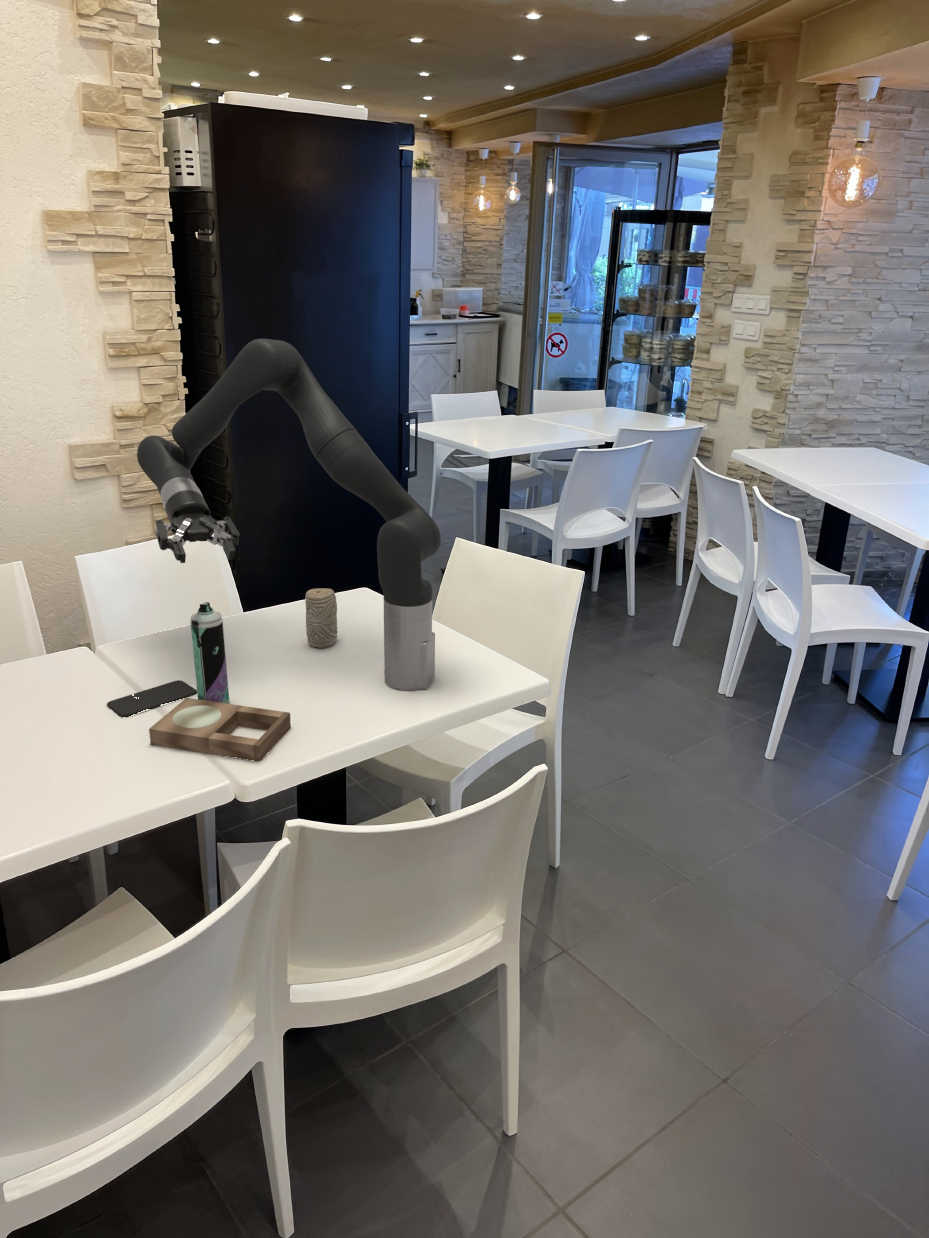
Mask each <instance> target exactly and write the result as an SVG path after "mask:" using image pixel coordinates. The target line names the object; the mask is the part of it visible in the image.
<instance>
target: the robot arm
mask: <svg viewBox="0 0 929 1238" xmlns="http://www.w3.org/2000/svg"><path fill="white" fill-rule="evenodd" d="M261 391H275V392H277V394H279V395H280V396H281V397H282V398H283V399H284V400H285V401H286V402H287V404H288V405H289V406H290V407H291V409H292V410H293V411H294V412H295V414H296V415H297V417H298V419H299V420H300V423H301V425H302V429H303V432H304V437H305V439H306V442H307V446H308V448H309V450H310V451H311V453H312V455H313V457H314V458H315V460H317V462H318V463H319V465H321V467H322V468H323V469H324V471H325V472H326V473H327V474H328V476H329V477H330V478H331V479H332V480H333V481H334V482H335V483H337V484H338V485H340V487H342V488H344V489H345V490H347V491H348V492H350V493H352V494H353V495H355V496H357V497H358V498H360V499H361V500H363V501H365V502H366V503H369V504H370V506H372V507H373V508H374V509H375V510H376V511H377V512H378V513H379V514H380V515H381V517H382V518H384V520H385V523H384V524H383V525H381V527H380V529H379V531H378V534H377V540H376V552H377V553H376V554H377V570H378V582H379V584H380V587H381V590H382V593H383V644H384V645H383V650H384V652H383V655H384V656H383V657H384V668H383V669H384V670H383V671H384V683H385V684H386V685H387V686H388V687H390V688H392V689H395V690H399V691H401V690H402V691H415V690H427V689H428V688H429V686H430V684H431V683H432V682H433V680H434V678H435V677H436V675H435V674H436V673H435V671H436V668H435V667H436V632H434V631H433V586H432V584H431V583H430V581H429V580H427V579H424V578H422V562H423V561H424V560H425V561H426V559H427V560H428V559H429V558H430V557H432V556H433V555H435V554H436V553H437V552H438V550H439V549H440V547H441V541H442V539H441V536H442V535H441V531H440V529H439V527H438V525H437V523H436V522H435V520H434V519H433V518H432V516H431V515H430V514H429V512H427V511H426V510H425V509H424V508H423V507H422V506H421V505H420V504H419V503H418V502H417V500H415V499H414V498H413V496H411V495H410V494H409V492H408V491H406V490H405V489H404V487H403V486H402V485H401V484H400V483H399V481H397V480H396V478H395V477H394V476H393V474H392V473H391V472H390V471H389V469H388V468H387V467H386V466H385V465H384V464H383V462H382V461H381V460H380V459H379V457H378V456H377V455H376V454H375V452H374V451H373V450H372V449H371V446H369V445H368V443H367V441H365V439H364V438H363V437H362V436H361V434H360V433H359V432H358V430H357V429H356V427H355V426H353V424H352V423H351V422H350V421H349V420H348V419H347V417H346V416H345V415H344V414H343V413H342V411H341V410H340V409H339V408H338V406H337V405H336V404H335V403H334V401H333V400H332V398H330V397H329V396H328V394H327V393H326V392H325V391H324V389H323V387H321V385H320V383H319V382H318V380H317V378H316V377H315V376H314V374H313V372H312V371H311V370H310V368H309V366H308V364H307V363H306V361H305V360H304V359H303V357H302V355H301V354H300V353H299V352H298V350H297V349H296V347H294V346H293V345H292V344H290V343H289V342H286V341H284V340H278V339H269V338H256V339H253V340H252V341H249V342H248V343H247V344H246V345H245V346H244V347H243V348H242V349H241V350H240V351H239V353H237V355H236V356H235V358H234V360H232V362H231V363H230V365H229V366H228V367H227V369H226V370H225V372H223V374H222V375H221V377H220V378H219V379H218V381H217V382H216V383H215V384H214V385H213V386H212V387H211V389H210V390H209V391H208V392H207V393H206V394H205V395H204V396H203V397H202V399H200V400H199V401H198V402H197V403H195V405H194V406H193V407H192V408H190V409H189V411H187V412H186V413H185V414H184V415H183V416H182V417H180V419H179V420H177V421H176V422H175V423H174V424H173V426H172V429H171V436H172V439H173V440H174V442H175V443H176V444H175V443H174V442H171V441H169V440H167V439H166V438H164V437H161V436H160V435H155V434H154V435H148V436H146V437H144V438H143V439H142V440H141V441H140V442H139V444H138V447H137V449H136V451H137V452H136V458H137V462H138V465H139V466H140V468H141V470H142V471H143V473H145V475H146V477H148V478H149V480H150V481H151V482H152V483H153V484H154V485H155V486H156V488H157V490H158V493H159V496H160V498H161V503H162V506H163V507H162V508H163V510H164V512H165V514H166V517H167V519H168V521H169V523H167V522H166V523H164V521H163V520H162V519H156V521H155V531H154V533H155V535H156V536H155V537H156V539H157V542H158V546H159V549H160V550H161V551H166V550H168V549H169V550H170V551H171V552H172V554H173V556H174V558H175V560H176V561H178V562H179V563H180V564H185V563H186V557H187V555H186V551H185V549H184V545H185V544H186V543H187V542H189V543H195V542H209V543H210V544H212V545H213V546H215V545H218V546H220V547H221V548H222V550H223V552H224V554H225V556H226V559H227V561H232V560H233V558H234V557H235V553H236V547H237V546H238V545H239V538H240V531H239V530H238V529H237V527H236V524H234V522H233V520H232V519H231V517H229V516H224V517H223V520H216V519H215V518H213V517H212V513H211V511H210V508H209V506H208V504H207V503H206V500H205V498H204V495H203V494H202V492H201V490H200V488H199V487H198V486H197V484H196V482H195V479H194V478H193V475H192V474H191V469H192V467H193V466H194V464H195V462H196V460H197V459H198V457H199V455H200V454H201V452H202V451H203V450H204V449H205V448H206V447H208V446H209V444H211V443H212V442H213V441H215V439H216V438H217V437H218V436H220V435H221V434H222V433H223V432H224V430H225V429H226V427H228V425H229V423H230V421H231V419H232V417H233V416H234V413H235V412H236V410H237V409H238V407H240V405H242V404H243V403H244V402H245V401H246V400H247V399H249V398H251V397H252V396H254V395H255V394H257V393H259V392H261ZM169 531H170V532H171V533H173V536H172V538H168V537H169V536H168V534H169ZM235 546H236V547H235Z"/></svg>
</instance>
